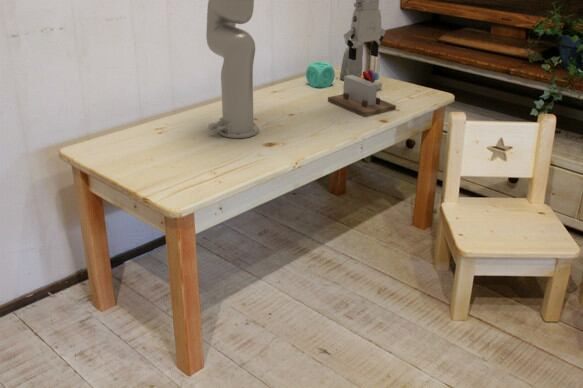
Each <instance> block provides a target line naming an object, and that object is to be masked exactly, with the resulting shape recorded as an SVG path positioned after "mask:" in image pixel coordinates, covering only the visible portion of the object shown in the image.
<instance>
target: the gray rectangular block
mask: <svg viewBox="0 0 583 388" xmlns="http://www.w3.org/2000/svg"><path fill="white" fill-rule="evenodd" d="M342 91H343V93H347V94H349V98H350V99H353V100H355V101H357V102H360V103H362V100H365V101H367V102H368V103H367V106H370V105H375V104H376V97H377V93H378V90H377V84H374V83H372V82H369V81H367V80H364V79H361V78H359V77H356V76H354V75H348V76H344V80H343V90H342ZM343 93H342V94H343Z"/></svg>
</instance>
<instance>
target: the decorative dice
mask: <svg viewBox="0 0 583 388" xmlns="http://www.w3.org/2000/svg"><path fill="white" fill-rule="evenodd" d="M335 74H336V72H335V69H334V67H333V65H332V64H331V63H329V62H325V61H315V62H310V64H309V65H308V67H307V68H306V71H305V78H306V81H307V83H308V85H310V86H311V87H312V88H316V89H317V88H320V89H322V88H323V89H324V88H328V87H331V85H332V84H333V82H334V80H335V76H336V75H335Z"/></svg>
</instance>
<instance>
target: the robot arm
mask: <svg viewBox="0 0 583 388" xmlns="http://www.w3.org/2000/svg"><path fill="white" fill-rule="evenodd" d="M379 5H380V0H355V2H354V3H353V8H354V10H353V13H352V19H351V23H350V30H348V31H347V32H346V33H344V35H343V39H344V41H345V44H346V45H347V46H346V47H349V59H352V60H356V52H357V48H355V47H356V45H357V44H358V42H363V43H368V42H372V43H371V45H370V56H372V57H375V58H378V57H379V50H380V49H379V46H380V45H381V42H382V40H384V36H385V34H386V32H387V31H386V30H385V29H383V28H382V15H381V10H380V9H379ZM254 7H255V0H208V2H207V10H206V11H207V13H206V32H205V33H206V36H205V37H206V44H207V46H208V48H209V49H210V50H211V52H212V53H214V54H215V55H217V56H218V57H219V56H220V57H222V58H223V61H222V65H221V66H222V67H221V71H220V83H221V84H220V85H221V86H220V87H221V89H220V90H221V107H222V108H221V113H222V117H219V120H218V121H217V122H214V123H209V124H208V130H209V131H212V130H213V131H214V130H215V131H217V132H218V134H219V135H220V136H223V137H225V138H230V139H245V138H246V139H247V138H251V137H254V136H256V135H257V134H258V133H259V132H260V130H259V126H258V125H257V124H256V123H254V122H255V121H254V79H253V77H254V76H253V75H254V74H253V73H254V72H253V71H254V61H255V55H256V43H255V40H254V39H253V36H252V35H251V34H250V33H249V32H247V31H246V30H244V29H241V28H239V27H236V24H238V25H245V24H246V23H248V22H250V21H251V19H252V17H253V13H254ZM354 41H355V42H354ZM353 42H354V43H353Z"/></svg>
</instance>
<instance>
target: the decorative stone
mask: <svg viewBox="0 0 583 388" xmlns="http://www.w3.org/2000/svg"><path fill="white" fill-rule="evenodd" d="M354 42H355V41H354ZM354 42H353V43H354ZM355 48H357V52H356V60H352V59H349V47H348V46H346V48H345V50H344V52H343V56H342V61H341V65H340V66H341V67H340V73H339V78H340V80H341V81H344V76H348V75H354V76H356V77H358V76H360V77H363V56H364V42H358V44H357V45H356V47H355Z"/></svg>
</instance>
